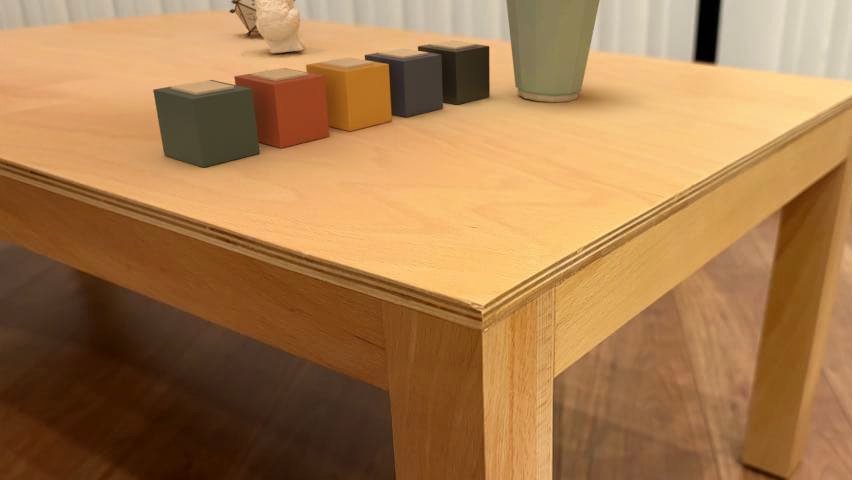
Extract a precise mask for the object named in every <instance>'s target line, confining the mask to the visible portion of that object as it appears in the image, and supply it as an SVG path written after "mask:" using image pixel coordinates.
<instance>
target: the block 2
mask: <svg viewBox="0 0 852 480" xmlns="http://www.w3.org/2000/svg"><path fill="white" fill-rule="evenodd" d="M233 77H234V85H238V86H242V87H247V88H251V89H252V94H253V102H254V110H255V118H256V127H257V135H258V143H260V144H265V145H268V146H272V147H276V148H280V149H283V148H288V147H292V146H296V145H300V144H304V143H308V142H312V141H316V140H321V139H324V138H328V137H330V126H329V124H328V112H327V101H326V89H325V78H324V75H318V74H313V73H308V72H307V71H303V70H297V69H291V68H286V67H281V68H276V69H269V70H263V71H256V72H250V73H246V74H240V75H234V76H233Z"/></svg>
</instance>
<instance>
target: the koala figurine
mask: <svg viewBox="0 0 852 480" xmlns="http://www.w3.org/2000/svg"><path fill="white" fill-rule="evenodd" d="M254 2H255V7H256V15H257V20H256V26H257V30H258V31H259V32H258V33H259V34H260V36H261V37H262V38H263V40H264V41H265V42H266V43H267V45H268V47H269V53H271V54H280V53H289V52H300V51H304V49H305V48H306V44H305V43H303V42H302V41H301V40H300V39H299V36H298V32H299V30H300V26H301V23H300V22H301V13H300V11H299V9H298V8H295V5H294V3H295V1H294V0H254Z"/></svg>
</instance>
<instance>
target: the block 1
mask: <svg viewBox="0 0 852 480" xmlns="http://www.w3.org/2000/svg"><path fill="white" fill-rule="evenodd" d="M152 91H153V97H154V102H155V108H156V115H157V121H158V126H159V133H160V138H161V143H162V151H163V155H164V157H168V158H171V159H175V160H178V161H182V162H184V163H187V164H191V165H194V166H198V167H200V168H207V167H211V166H216V165H219V164H223V163H228V162H231V161H236V160H240V159H243V158H247V157H251V156H255V155H256V156H257V155H259V154H260V151H261V150H260V144H259V143H260V142H258V135H257V127H256V118H255V110H254V102H253V94H252V89H251V88H247V87H242V86H238V85H235V84H233V83H228V82H224V81H219V80H216V79H215V80H213V79H207V80H201V81H195V82H190V83H189V82H188V83H183V84H177V85H171V86H166V87H159V88H154V89H152Z"/></svg>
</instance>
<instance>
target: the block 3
mask: <svg viewBox="0 0 852 480" xmlns="http://www.w3.org/2000/svg"><path fill="white" fill-rule="evenodd" d="M364 60H367V61H373V62H379V63H385V64H389V79H390V97H391V115H393V116H399V117H403V118H409V117H413V116H418V115H421V114H425V113H430V112H433V111H438V110H442V109H444V102H443V90H442V55H441V54H434V53H428V52H422V51H418V50H415V49H409V48H397V49H391V50H386V51H385V50H384V51H381V52H379V51H378V52H374V53H368V54H364Z"/></svg>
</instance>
